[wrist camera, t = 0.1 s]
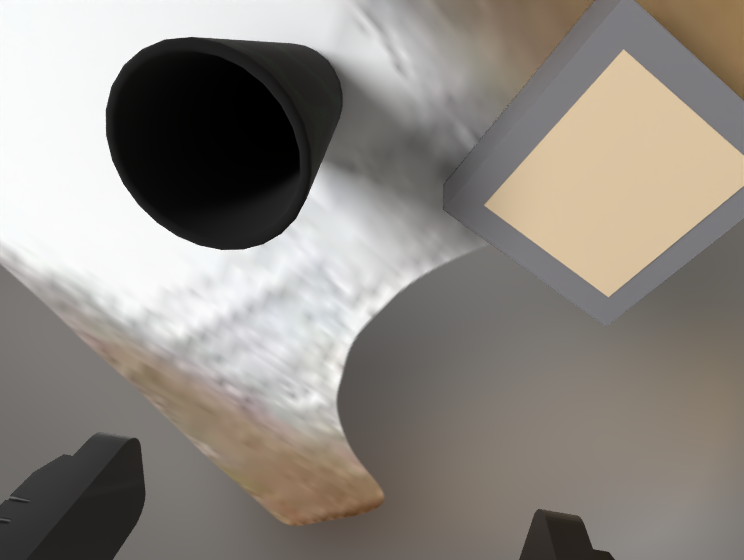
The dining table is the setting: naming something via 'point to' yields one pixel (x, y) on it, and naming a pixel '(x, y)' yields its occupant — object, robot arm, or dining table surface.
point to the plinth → (608, 163)
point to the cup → (222, 135)
